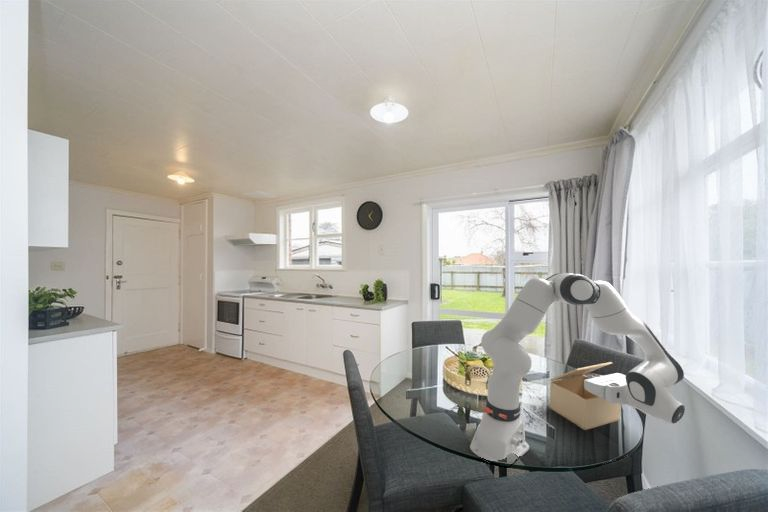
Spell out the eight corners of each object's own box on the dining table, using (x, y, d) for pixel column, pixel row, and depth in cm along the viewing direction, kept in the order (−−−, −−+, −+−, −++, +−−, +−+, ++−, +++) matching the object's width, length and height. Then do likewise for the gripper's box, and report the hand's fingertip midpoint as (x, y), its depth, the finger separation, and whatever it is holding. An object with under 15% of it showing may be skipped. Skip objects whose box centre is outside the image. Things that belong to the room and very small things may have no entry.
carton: (619, 420, 121) (621, 391, 120) (584, 430, 114) (585, 400, 114) (582, 400, 136) (583, 374, 135) (549, 408, 130) (550, 381, 129)
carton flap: (612, 363, 123) (611, 361, 123) (577, 370, 117) (576, 368, 117) (583, 374, 135) (582, 372, 136) (550, 381, 129) (549, 379, 129)
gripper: (644, 378, 112) (607, 364, 126) (607, 387, 106) (571, 371, 119) (643, 394, 113) (606, 378, 126) (606, 404, 106) (571, 386, 119)
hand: (589, 374), depth 122 cm, fingers closed
